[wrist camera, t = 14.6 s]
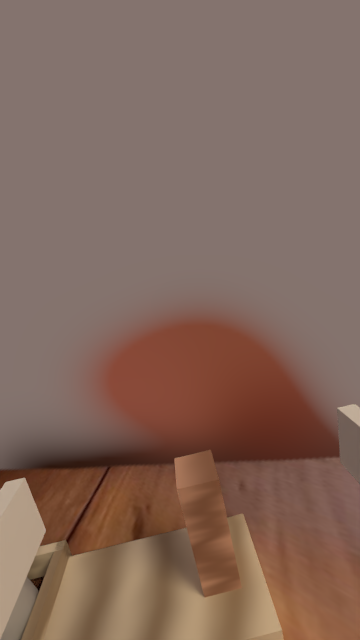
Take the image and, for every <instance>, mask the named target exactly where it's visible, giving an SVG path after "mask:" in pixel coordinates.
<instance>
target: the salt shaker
mask: <svg viewBox="0 0 360 640" xmlns="http://www.w3.org/2000/svg"><path fill="white" fill-rule="evenodd" d="M37 596H38V590H37V588H36V587H35V585H34V584H33V583H32V582H31V580H30V579H29V578H28V577H26V579H25V582H24V584H23V587H22V589H21V591H20V594H19V596H18V598H17V601H16V603H15V606H14V608H13V610H12V613H11V615H10V618H9V620H8V622H7V625H6V627H5V630H4V632H3V634H2V637H1V639H0V640H21V639H22V636H23V633H24V631H25V628H26V625H27V622H28V620H29V617H30V614H31V612H32V609H33V606H34V604H35V601H36V598H37Z"/></svg>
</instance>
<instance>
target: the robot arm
mask: <svg viewBox="0 0 360 640" xmlns="http://www.w3.org/2000/svg"><path fill="white" fill-rule="evenodd" d="M337 413H338V430H339V447H340V463H341V464H342V465H343V466H344V467H345V468H346V469H347V470H348V471H349V473H350V474H351V475H352V476H353V477H354V478H355V479H356V480H357V481H358V483H359V484H360V408H359V407H358V406H357V405H355V404H353V405H348V406H344V407H339V408H337ZM45 532H46V529H45V527H44V524H43V522H42V519H41V517H40V514H39V512H38V509H37V507H36V504H35V502H34V499H33V497H32V494H31V492H30V489H29V487H28V484H27V482H26V479H25V478H22V479H17V480H13V481H8V482H6V483H5V484H4V485H3V487H2V488H1V490H0V639H1V637H2V634H3V632H4V630H5V627H6V625H7V622H8V620H9V618H10V615H11V613H12V610H13V608H14V606H15V603H16V601H17V598H18V596H19V594H20V591H21V589H22V587H23V584H24V582H25V579H26V577H27V575H28V572H29V570H30V567H31V565H32V563H33V560H34V558H35V555H36V553H37V551H38V548H39V546H40V544H41V541H42V539H43V536H44V534H45Z"/></svg>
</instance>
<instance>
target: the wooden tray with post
mask: <svg viewBox="0 0 360 640" xmlns="http://www.w3.org/2000/svg"><path fill="white" fill-rule="evenodd" d="M175 472H176V485H177V492H178V496H179V500H180V504H181V508H182V512H183V515H184V519H185V523H186V527H187V528H183V529H179V530H175V531H171V532H167V533H163V534H159V535H155V536H151V537H147V538H143V539H139V540H135V541H131V542H127V543H123V544H119V545H115V546H111V547H107V548H103V549H98V550H94V551H90V552H86V553H82V554H78V555H74V556H72V554H71V552H70V549H69V547H68V544H67V541H66V540H64V541H60V542H56V543H52V544H48V545H44V546H40V547H39V548H38V551H37V553H36V555H35V558H34V560H33V563H32V565H31V567H30V570H29V572H28V575H27V577H28V578H29V579H30V580H31V579H35V578H39V577H43V576H45V577H44V579H43V582H42V585H41V588H40V590H39V593H38V596H37V598H36V601H35V604H34V606H33V609H32V612H31V614H30V617H29V620H28V622H27V625H26V628H25V631H24V633H23V636H22V639H21V640H284V639H283V633H282V629H281V626H280V623H279V620H278V617H277V614H276V611H275V608H274V605H273V602H272V599H271V596H270V593H269V590H268V587H267V584H266V581H265V578H264V575H263V572H262V569H261V566H260V563H259V560H258V557H257V554H256V551H255V548H254V545H253V542H252V539H251V536H250V533H249V530H248V527H247V524H246V521H245V518H244V515H243V514H240V515H236V516H232V517H228V518H227V515H226V511H225V506H224V501H223V497H222V492H221V487H220V483H219V478H218V475H217V471H216V467H215V464H214V461H213V457H212V453H211V450H208V451H204V452H200V453H195V454H191V455H187V456H183V457H179V458H175Z"/></svg>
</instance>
